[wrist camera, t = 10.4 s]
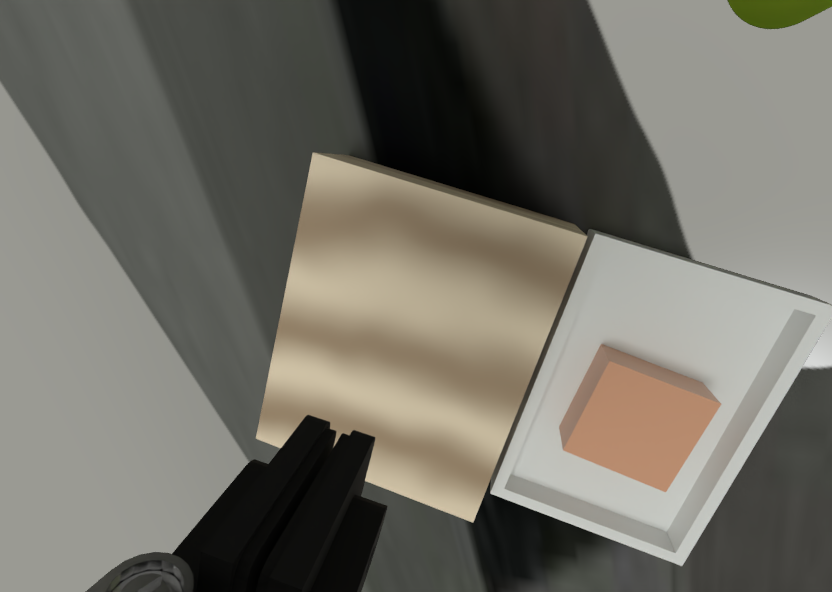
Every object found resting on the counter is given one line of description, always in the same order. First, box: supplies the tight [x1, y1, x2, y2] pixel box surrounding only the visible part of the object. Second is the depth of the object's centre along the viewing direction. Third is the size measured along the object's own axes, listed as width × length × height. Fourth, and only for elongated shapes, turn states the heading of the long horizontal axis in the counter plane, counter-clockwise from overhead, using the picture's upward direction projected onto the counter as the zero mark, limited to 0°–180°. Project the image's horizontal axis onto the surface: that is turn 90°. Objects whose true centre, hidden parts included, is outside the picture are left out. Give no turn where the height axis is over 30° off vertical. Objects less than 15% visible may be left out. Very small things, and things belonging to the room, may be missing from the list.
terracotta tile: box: [559, 344, 721, 492], centre depth 31 cm, size 7×7×3 cm
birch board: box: [256, 153, 588, 522], centre depth 32 cm, size 20×16×6 cm
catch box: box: [490, 229, 832, 566], centre depth 32 cm, size 20×14×2 cm
